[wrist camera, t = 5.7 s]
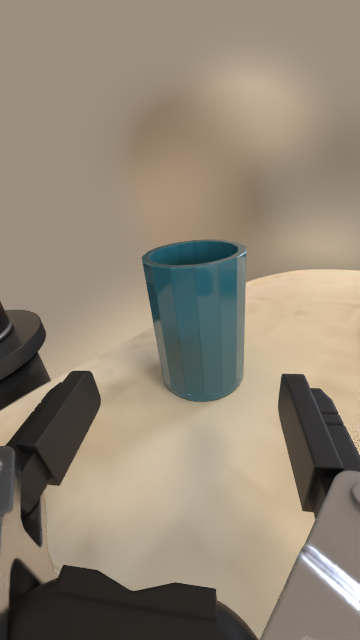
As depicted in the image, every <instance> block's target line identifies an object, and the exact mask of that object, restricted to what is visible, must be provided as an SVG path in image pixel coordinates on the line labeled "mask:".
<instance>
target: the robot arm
mask: <svg viewBox="0 0 360 640" xmlns="http://www.w3.org/2000/svg"><path fill="white" fill-rule="evenodd" d="M13 327H14V326H13V324H12V322H11V320H10V318H9V317H8V316H7V314H6V312H5V310H4V308H3V306H2V304H1V302H0V343H1V342H2V341H4V340H5V339H6V338H7V337H8V336H9V335H10V334H11V332H12V331H13ZM100 403H101V398H100V394H99V391H98V388H97V385H96V383H95V380H94V377H93V374H92V373H91V372H90V371H72V372H70V373H69V375H68V376H67V377H66V379H65V380H64V381H63V382H60V383H59V384H58V385H56V386H55V387H54V388H52V389H51V390H50V391H49V392H48V393H47V394H46V396H45V397H44V398H43V399H42V401H41V403H39V404H38V406H37V407H36V408H35V411H33V412H32V413H31V414H30V416H29V417H28V418H27V419H26V421H25V422H24V423H23V424H22V426H21V427H20V428H19V429H18V431H17V432H16V433H15V435H14V436H13V437H12V438H11V440H10V441H9V442H8V443H7V444H6V446H1V447H0V640H258V638H257V637H256V635H255V634H254V633H253V632H252V630H251V629H250V628H249V627H248V625H247V624H246V623H245V622H244V621H243V620H242V619H241V618H240V617H239V616H238V615H237V614H236V613H235V612H234V611H232V610H231V609H230V608H229V607H227V606H226V605H224V604H223V603H221V602H219V601H217V596H216V589H213V588H207V587H201V586H194V585H188V584H182V583H170V584H166V585H161V586H156V587H152V588H147V589H142V590H138V591H131V590H129V589H127V588H125V587H124V586H122V585H121V584H119V583H117V582H116V581H114V580H113V579H111V578H109V577H108V576H106V575H105V574H103V573H101V572H100V571H98V570H93V569H86V568H80V567H74V566H67V565H63V567H62V569H61V572H60V574H59V577H58V578H56V576H55V571H54V567H53V563H52V561H51V558H50V555H49V550H48V537H47V522H46V507H45V496H44V493H43V491H44V490H45V488H46V486H47V485H58V486H59V485H60V484H61V482H62V480H63V478H64V476H65V474H66V472H67V470H68V468H69V466H70V464H71V462H72V460H73V459H74V457H75V455H76V453H77V451H78V449H79V447H80V445H81V443H82V441H83V439H84V437H85V435H86V433H87V432H88V430H89V428H90V426H91V424H92V422H93V420H94V418H95V416H96V414H97V412H98V410H99V408H100ZM278 410H279V417H280V422H281V426H282V430H283V434H284V438H285V442H286V446H287V450H288V454H289V458H290V462H291V466H292V470H293V474H294V478H295V482H296V486H297V490H298V494H299V498H300V502H301V506H302V510H303V511H308V512H314V515H315V519H316V520H315V522H314V525H313V527H312V529H311V531H310V534H309V536H308V538H307V540H306V542H305V544H304V546H303V547H302V549H301V551H300V553H299V555H298V557H297V559H296V561H295V563H294V565H293V568H292V570H291V572H290V574H289V577H288V579H287V581H286V583H285V585H284V588H283V590H282V592H281V594H280V596H279V599H278V601H277V603H276V605H275V608H274V610H273V612H272V614H271V616H270V619H269V621H268V623H267V625H266V627H265V630H264V632H263V634H262V636H261V639H260V640H360V455H359V453H358V451H357V449H356V447H355V445H354V443H353V441H352V439H351V437H350V435H349V433H348V431H347V429H346V427H345V426H344V425H343V421H342V419H341V417H340V415H338V411H337V409H336V407H335V405H334V403H333V401H332V399H331V398H329V397H328V396H327V395H326V394H325V393H324V392H323V391H322V390H321V389H318V388H310V387H309V384H308V382H307V380H306V377H305V376H304V375H303V374H282V376H281V384H280V392H279V400H278Z"/></svg>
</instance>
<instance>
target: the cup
mask: <svg viewBox="0 0 360 640" xmlns="http://www.w3.org/2000/svg"><path fill="white" fill-rule="evenodd" d="M142 262H143V267H144V273H145V278H146V284H147V290H148V295H149V301H150V306H151V312H152V318H153V323H154V329H155V334H156V340H157V346H158V351H159V357H160V362H161V368H162V374H163V379H164V382H165V384H166V386H167V387H168V389H169V390H170V391H171V392H173V393H174V394H175V395H177V396H179V397H181V398H184V399H187V400H192V401H212V400H216V399H220V398H222V397H225V396H227V395H229V394H230V393H232V392H233V391H234V390H235V389H236V388H237V387H238V386H239V385H240V383H241V381H242V378H243V363H244V322H245V281H246V277H245V276H246V246H244V245H242V244H240V243H238V242H233V241H227V240H193V241H186V242H179V243H173V244H169V245H165V246H161V247H158V248H156V249H153V250H151V251H148V252H147V253H146V254H145V255H143V256H142Z"/></svg>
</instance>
